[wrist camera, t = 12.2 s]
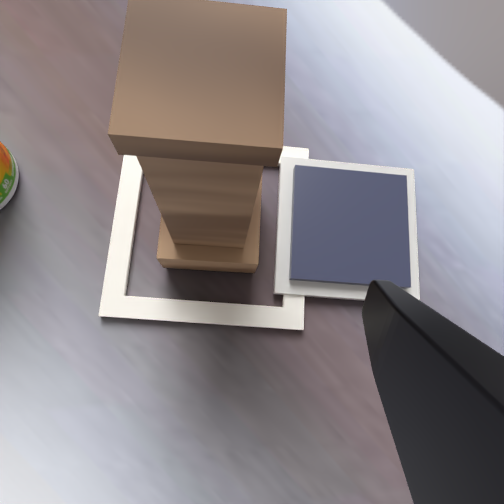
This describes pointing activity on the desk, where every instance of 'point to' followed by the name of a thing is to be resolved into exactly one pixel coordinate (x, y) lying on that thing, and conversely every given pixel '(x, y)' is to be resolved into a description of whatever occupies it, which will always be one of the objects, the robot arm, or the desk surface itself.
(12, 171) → the supplement bottle
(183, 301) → the marked square
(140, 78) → the stamp
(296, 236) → the ink pad
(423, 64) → the desk surface
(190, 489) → the desk surface
